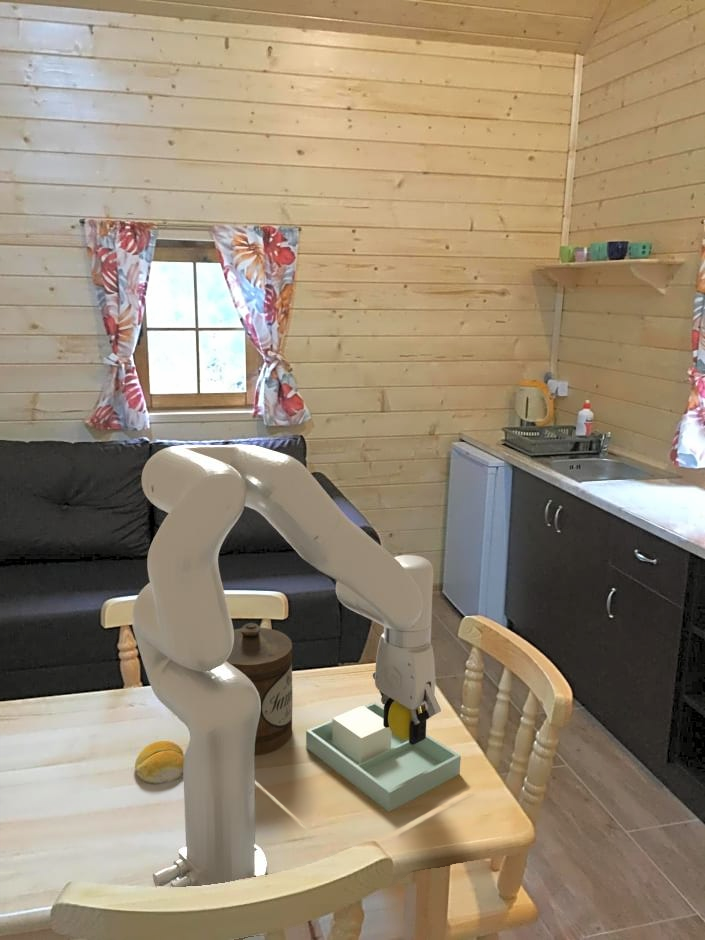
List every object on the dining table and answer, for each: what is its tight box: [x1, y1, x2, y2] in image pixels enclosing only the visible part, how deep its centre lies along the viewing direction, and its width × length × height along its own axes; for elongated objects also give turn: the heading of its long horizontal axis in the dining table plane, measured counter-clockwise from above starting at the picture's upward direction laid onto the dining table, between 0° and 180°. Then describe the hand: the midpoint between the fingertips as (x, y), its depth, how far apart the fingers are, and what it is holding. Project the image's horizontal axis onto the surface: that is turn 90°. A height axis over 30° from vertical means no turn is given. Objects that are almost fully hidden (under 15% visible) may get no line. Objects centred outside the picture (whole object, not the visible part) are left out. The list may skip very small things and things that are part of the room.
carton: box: [331, 705, 392, 763], centre depth 142 cm, size 7×8×5 cm
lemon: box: [388, 700, 422, 740], centre depth 132 cm, size 6×6×8 cm
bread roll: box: [134, 740, 185, 784], centre depth 136 cm, size 8×9×4 cm
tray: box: [305, 701, 462, 813], centre depth 138 cm, size 16×22×4 cm
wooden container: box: [226, 622, 293, 757], centre depth 144 cm, size 15×15×22 cm
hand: (404, 731), depth 133 cm, fingers closed on lemon, 5 cm apart
